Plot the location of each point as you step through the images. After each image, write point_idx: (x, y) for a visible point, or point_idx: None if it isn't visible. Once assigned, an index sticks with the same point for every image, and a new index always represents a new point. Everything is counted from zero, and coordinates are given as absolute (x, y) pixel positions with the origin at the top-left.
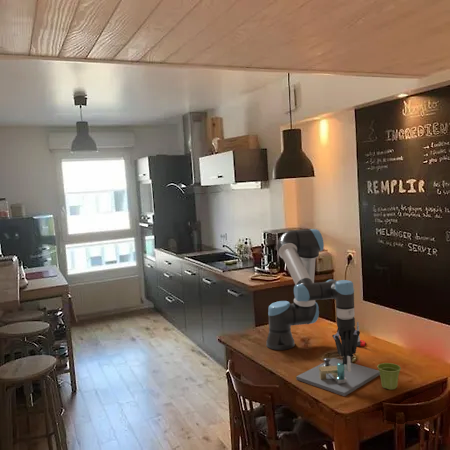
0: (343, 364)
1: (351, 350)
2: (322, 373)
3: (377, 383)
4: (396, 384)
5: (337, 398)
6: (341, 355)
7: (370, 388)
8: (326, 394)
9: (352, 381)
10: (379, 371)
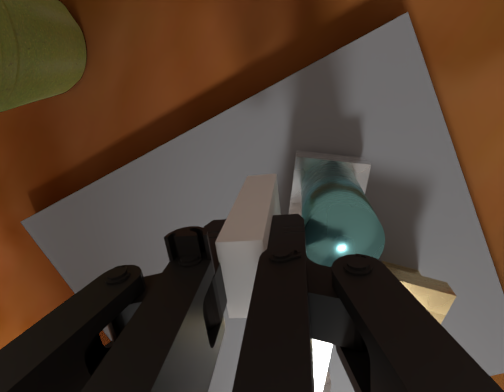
0: (324, 213)
1: (155, 305)
2: (438, 282)
3: (95, 118)
4: None
5: (470, 3)
6: (385, 271)
7: (166, 69)
8: (496, 98)
9: (242, 165)
10: (16, 52)
